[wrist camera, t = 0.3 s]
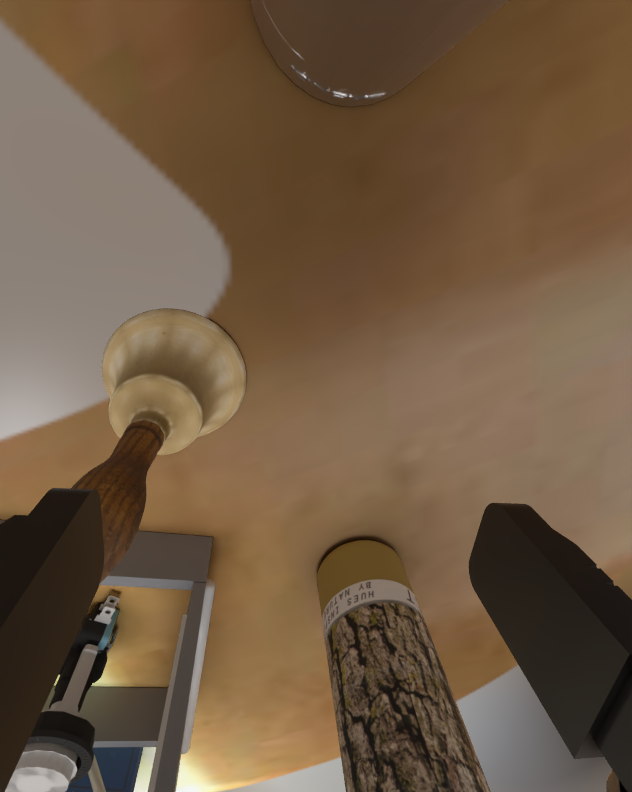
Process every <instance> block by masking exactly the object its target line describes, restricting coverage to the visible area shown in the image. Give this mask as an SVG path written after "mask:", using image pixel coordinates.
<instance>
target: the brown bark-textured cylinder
mask: <svg viewBox="0 0 632 792" xmlns="http://www.w3.org/2000/svg"><path fill="white" fill-rule="evenodd" d="M317 586H318V593H319V600H320V607H321V614H322V623H323V631H324V638H325V645H326V652H327V659H328V666H329V673H330V680H331V688H332V695H333V702H334V709H335V716H336V723H337V730H338V737H339V745H340V752H341V759H342V766H343V773H344V780H345V787H346V792H490V789H489V786H488V784H487V781H486V779H485V776H484V773H483V771H482V768H481V766H480V763H479V761H478V758H477V755H476V753H475V750H474V748H473V745H472V742H471V740H470V737H469V735H468V732H467V730H466V727H465V724H464V722H463V719H462V716H461V714H460V711H459V709H458V706H457V704H456V701H455V698H454V696H453V693H452V691H451V688H450V685H449V683H448V680H447V678H446V675H445V673H444V670H443V667H442V665H441V662H440V660H439V657H438V654H437V652H436V649H435V647H434V644H433V641H432V639H431V636H430V634H429V631H428V629H427V626H426V623H425V621H424V618H423V616H422V613H421V610H420V608H419V605H418V603H417V600H416V598H415V596H414V593H413V591H412V588H411V586H410V583H409V580H408V578H407V575H406V573H405V570H404V567H403V565H402V562H401V560H400V558H399V556H398V555H397V554H396V552H395V551H394V550H392V549H391V548H390V547H388V546H386V545H384V544H382V543H380V542H376V541H371V540H358V541H353V542H349V543H346V544H344V545H341V546H339V547H338V548H336V549H335V550H333V551H332V552H331V553H330V554H329V555H328V556H327V557H326V558H325V559H324V561H323V562H322V564H321V566H320V568H319V570H318V574H317Z"/></svg>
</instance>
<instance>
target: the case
mask: <svg viewBox="0 0 632 792" xmlns="http://www.w3.org/2000/svg"><path fill="white" fill-rule="evenodd" d="M5 521H6V520H0V524H2V523H3V522H5ZM212 542H213V537H206V536H194V535H182V534H169V533H157V532H144V531H137V533H136V535H135V537H134V539H133V541H132V543H131V545H130V547H129V549H128V551H127V553H126V554H125V556H124V557H123V559H122V560H121V561H120V562H119V564H118V565H117V566H116V567H115V568H114V570H113V571H112V572H111V573H110V574H109V575H108V576H107V577H106V578H105V579H104V580H103V581H102V582H101V583H100V584H99V585H110V586H127V587H145V588H162V589H180V590H192V592H191V597H190V602H189V608H188V613H187V614H183V616H182V621H181V626H180V631H179V636H178V641H177V646H176V651H175V657H174V662H173V667H172V672H171V677H170V682H169V687H168V688H131V687H90V688H89V690H88V691H87V693H86V696H85V699H84V702H83V704H82V707H81V710H80V711H79V712H78V713H79V714H80V715H81V716H82V717H83V718H84V719H86V720H88V721H89V722H90V723H91V725H92V726H93V727H94V728H95V735H94V745H93V748H96V747H157V748H156V753H155V758H154V763H153V768H152V773H151V778H150V783H149V788H148V792H175V791H176V785H177V778H178V771H179V765H180V758H181V754H185V753H187V752H188V750H189V748H190V743H191V737H192V731H193V724H194V718H195V712H196V705H197V699H198V693H199V687H200V680H201V674H202V668H203V661H204V655H205V649H206V642H207V636H208V630H209V623H210V617H211V611H212V605H213V598H214V592H215V582H214V581H213V580H210V579H207V576H208V569H209V562H210V555H211V549H212ZM55 687H56V686H53V688H52V690H51V692H50V694H49V696H48V698H47V701H46V703H45V705H44V707H43V709H42V711H45V710H49V705H50V703H51V700H52V698H53V696H54V693H55V691H54V689H55ZM88 775H89V778H90V782H91V785H92V789H93V792H106V790H105V787H104V784H103V780H102V777H101V774H100V771H99V767H98V764H97V761H96V758H95V755H94V759H93V763H92V766H91V769H90V770H89V772H88Z"/></svg>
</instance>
